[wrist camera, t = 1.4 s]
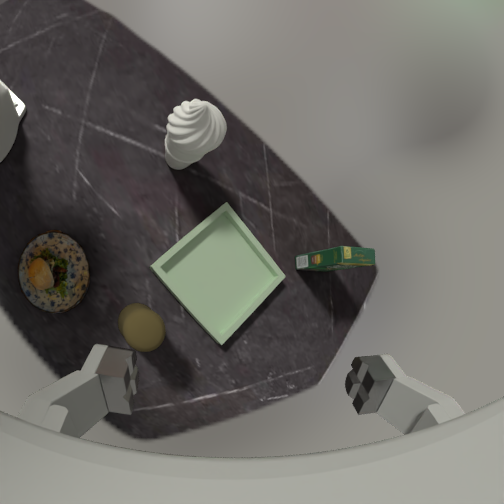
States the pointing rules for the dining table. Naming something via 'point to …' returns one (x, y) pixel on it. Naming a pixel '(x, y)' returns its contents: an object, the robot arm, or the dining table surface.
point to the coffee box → (335, 259)
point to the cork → (141, 327)
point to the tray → (219, 273)
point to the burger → (54, 272)
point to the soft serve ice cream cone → (193, 132)
